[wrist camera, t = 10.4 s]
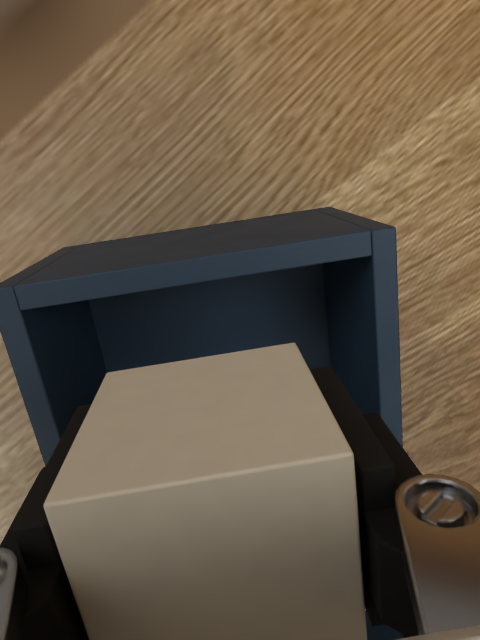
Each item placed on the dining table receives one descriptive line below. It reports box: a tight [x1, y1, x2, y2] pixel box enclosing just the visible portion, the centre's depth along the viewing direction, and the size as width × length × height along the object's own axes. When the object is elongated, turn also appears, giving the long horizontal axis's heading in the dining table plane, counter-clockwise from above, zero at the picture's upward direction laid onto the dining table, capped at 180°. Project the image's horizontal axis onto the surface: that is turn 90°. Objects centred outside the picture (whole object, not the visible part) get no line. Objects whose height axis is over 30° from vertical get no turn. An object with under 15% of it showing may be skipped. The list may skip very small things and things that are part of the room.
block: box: [44, 343, 367, 640], centre depth 9 cm, size 4×4×4 cm
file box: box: [0, 207, 403, 609], centre depth 20 cm, size 16×13×8 cm
